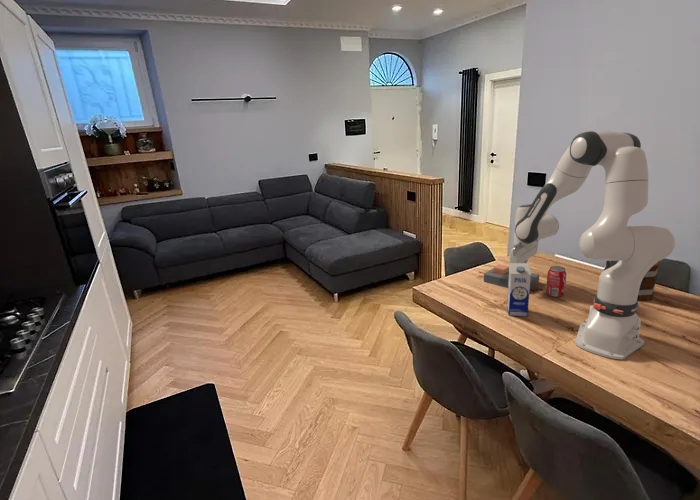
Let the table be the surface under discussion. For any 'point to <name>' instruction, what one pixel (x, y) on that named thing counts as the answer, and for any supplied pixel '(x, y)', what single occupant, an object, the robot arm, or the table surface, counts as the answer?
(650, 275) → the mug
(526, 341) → the table surface
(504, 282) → the console
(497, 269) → the brick key
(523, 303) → the milk carton
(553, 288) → the soda can
